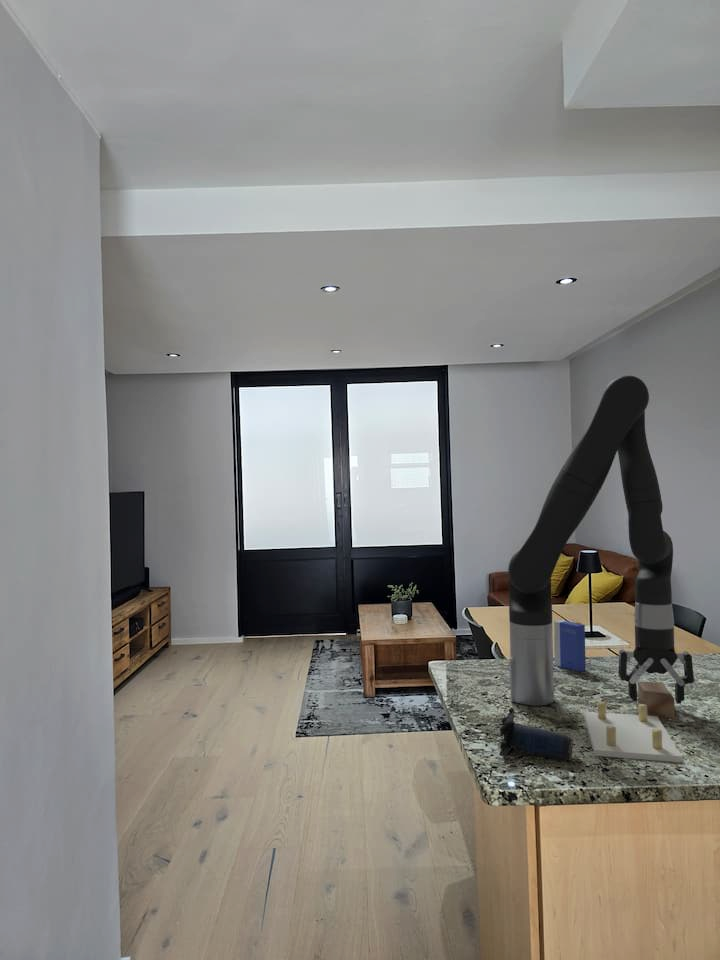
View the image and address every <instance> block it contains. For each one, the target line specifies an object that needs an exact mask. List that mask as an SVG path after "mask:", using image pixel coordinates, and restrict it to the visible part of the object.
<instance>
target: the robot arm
mask: <svg viewBox="0 0 720 960" xmlns="http://www.w3.org/2000/svg"><path fill="white" fill-rule="evenodd" d="M647 387H648V386H647V385H646V383H644V381H643V380H642V379H640V378H639V377H637V376H634V375H623V376H622V375H621V376H619V377H617V378H614V379H613V380H612V381H610V382H609V383H608V384H606V387H605V388H604V390H603V393H602V395H601V398H600V401H599V404H598V406H597V408H596V411H595V413H594V415H593V417H592V420H591V422H590V424H589V425H588V427H587V429H586V431H585V433H584V434H583V436H582V437H581V439H580V440H579V441H578V442H577V444H576V446H575V447H574V448H573V450H572V451H571V453H570V455H569V456H568V458H567V459H566V461H565V463H564V464H563V466H562V467H561V468H560V470H559V472H558V473H557V476H556V478H555V480H554V482H552V485H551V487H550V489H549V492H548V494H547V495H546V498H545V501H544V503H543V505H542V508H541V511H540V513H539V517H538V520H537V522H536V524H535V525H534V528H533V530H532V532H531V533H530V534H529V536H528V537H527V539H526V540H525V542H524V544H523V545H522V547H521V548H520V549H519V550H517V551H516V552H515V553H514V554H513V555H512V556H511V558H510V561H509V563H508V567H507V568H508V569H507V570H508V572H507V574H508V588H509V590H508V591H509V592H508V593H509V594H508V595H509V597H508V598H509V599H508V601H509V602H508V614H509V616H508V617H509V619H508V620H509V675H510V677H509V678H510V679H509V680H510V682H509V684H510V687H509V688H510V703H517V704H520V705H521V704H522V705H526V706H537V707H539V706H547V705H550V704H553V703H554V701H555V695H554V694H555V689H554V688H555V687H554V686H555V685H554V646H553V645H554V643H553V642H554V633H553V632H554V631H553V602H552V601H553V600H552V577H553V574H554V570H555V568H556V567H557V564H558V561H559V559H560V558H561V557H560V556H561V555H562V552H563V551H564V549H565V546H566V545H567V542H568V541H569V539H570V538H571V536H572V535H573V534H574V532H575V531H576V530H577V528H578V527H579V525H580V524H581V522H582V521H583V520H584V518H585V517H586V515H587V513H588V511H589V510H590V508H591V507H592V505H593V504H594V502H595V500H596V498H597V496H598V494H599V493H600V491H601V489H602V487H603V485H604V483H605V481H606V479H607V476H608V475H609V472H610V470H611V468H612V466H613V462H614V460H615V457H616V454H617V456H618V463H619V467H620V477H621V482H622V483H621V484H622V491H623V495H624V500H625V501H624V502H625V506H626V510H627V513H628V515H627V516H628V517H627V519H628V522H627V523H628V540H629V541H628V542H629V545H630V549H631V552H632V554H633V556H634V557H635V558H636V559H637V561H638V573H637V575H636V578H635V582H634V600H635V605H634V611H633V613H634V644H635V645H634V650H633V651H629V650H624V649H619V653H618V677H619V678H620V680H621V681H625V682H627V683H628V684H627V686H628V692H627V693H628V696H629V698H630V699H631V700H632V701H633V702H638V683H636V682H638V680H639V679H640V677H642V676H643V675H644V674H645V672H646V673H647V674H660V675H665V674H667V672H668V673H669V675H670V676H671V677H672V679H674V681H675V683H674V702H675V703H677V705H678V704H679V705H680V704H682V702H684V701H685V686H686V685H688V684H693V683H694V682H695V677H694V666H693V657H692V655H691V654H690V652H688V651H683V652H677V653H676V651H675V649H676V648H675V618H674V610H673V600H672V599H673V594H672V593H673V592H672V583H671V582H672V571H673V562H674V560H673V559H674V545H673V540H672V538H671V536H670V535H669V534H668V533H667V532H666V531H665V530H664V528H663V527H664V526H663V521H662V514H663V500H662V494H661V489H660V483H659V480H658V479H659V478H658V475H657V471H656V469H655V465H654V462H653V459H652V457H651V452H650V449H649V445H648V439H647V434H646V421H645V420H646V417H645V416H646V415H645V414H646V411H645V410H646V409H647V407H648V405H649V402H650V393H649V390H648V388H647ZM631 658H634V660H635V661H636V665H635V666H634V667H633V669H632V670H631V672H630V673H628V674H627V670H628V669H627V668H628V666H627V665H628V663H629V662H630V661H631ZM677 660H679V662H680V663H681V664H682V665H683V673H684V675H683V676H680V675H679V674H678V672H676V670H675V668H673V665H674V664H676V663H675V662H676V661H677Z"/></svg>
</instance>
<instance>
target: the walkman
mask: <svg viewBox="0 0 720 960" xmlns="http://www.w3.org/2000/svg"><path fill="white" fill-rule="evenodd" d="M553 625H554V627H553V628H554V631H553V632H554V633H553V642H554V643H553V645H554V646H553V653H554V666H556V667H560V668H562V669H566V668H567V670H570V671H575V672H577V671H578V673H579V672H583V671H584V672H585V671H586V670H587V669H586V667H587V666H586V664H587V663H586V626H585V624H582V622H579V621H576V622H573V621H567V620H562V619H560V620H554V621H553Z"/></svg>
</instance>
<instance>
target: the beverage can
mask: <svg viewBox="0 0 720 960" xmlns="http://www.w3.org/2000/svg"><path fill="white" fill-rule="evenodd" d="M516 713H517V712H516V711H515V708H513V707H510V708H509V710H508V714H507V716H504V717H503V718H501V719H500V721H501V723H502V726H501V727H500V728H499V734H500V735H499V736H500V737H503V739H502V740H503V741H501V742H500V746H499V748H500V751H499V756H502V757H503V756H504V757H506V756H507V754H508V753H509V751H511V749H512V748H515V750H516V751H519V752H523V753H524V752H525V753H529V754H533V755H534V756H536V755H537V756H539V757H544V758H549V759H553V760H557V761H561V762H567V761H571V760H572V756H573V751H574V750H573V749H574V740H573V738H572V736H570V735H568V734H566V733H561V732H558V731H553V730H548V729H545V728H540V727H537V726H532V725H526V724H523V723H522V724H521V723H517V722H516V723H515V722H514V719H515V718H516V717H517V716H516V715H515V714H516Z"/></svg>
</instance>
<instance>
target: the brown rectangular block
mask: <svg viewBox="0 0 720 960" xmlns="http://www.w3.org/2000/svg"><path fill="white" fill-rule="evenodd" d="M637 702H638V703H639V704H645V705H647V716H658V718H659V720H665V719H671V720H670V721H676V717H675V716H676V714H675V713H676V712H675V710H676V709H675V703H676V702H675V696H673V694H672V693H671V692H670V691H669V690H668V688H667V686H666V685H665V684H664V683H663V682H659V681H658V682H657V681H656V682H655V681H653V682H652V681H638V680H637Z"/></svg>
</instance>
